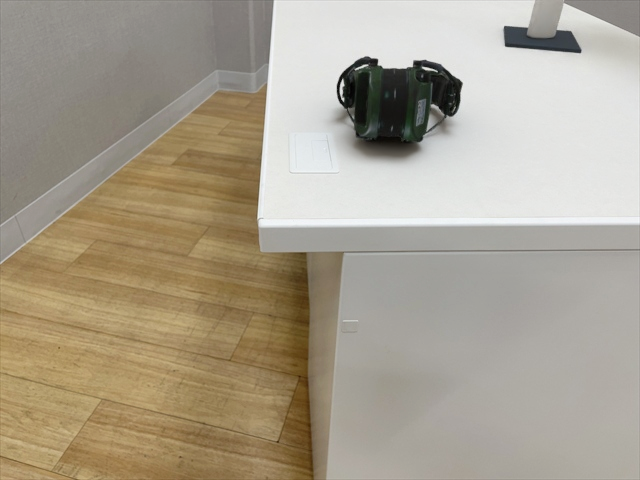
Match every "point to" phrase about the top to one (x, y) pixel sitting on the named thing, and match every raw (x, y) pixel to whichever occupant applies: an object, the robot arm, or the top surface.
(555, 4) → the eye dropper bottle
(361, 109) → the headphones
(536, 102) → the top surface
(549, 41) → the slate mat
